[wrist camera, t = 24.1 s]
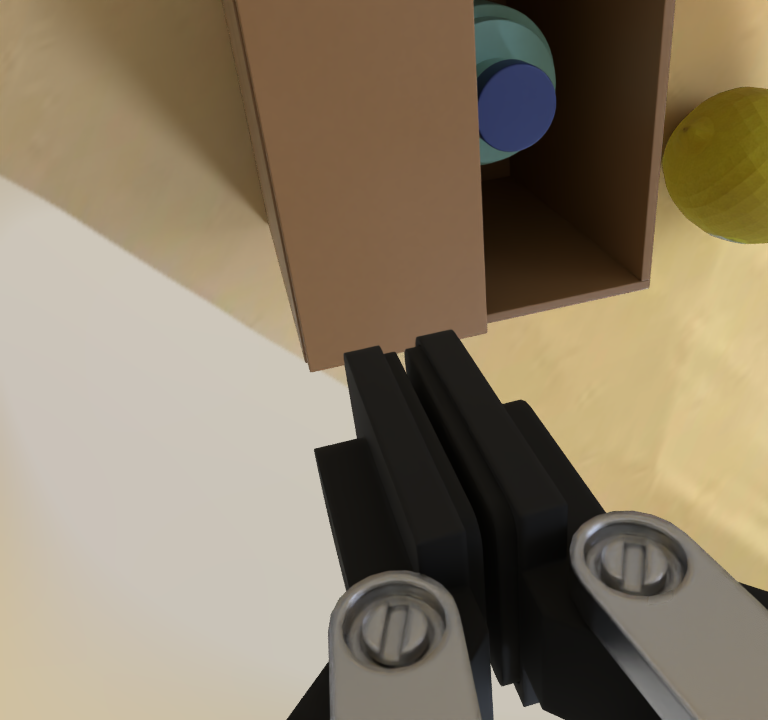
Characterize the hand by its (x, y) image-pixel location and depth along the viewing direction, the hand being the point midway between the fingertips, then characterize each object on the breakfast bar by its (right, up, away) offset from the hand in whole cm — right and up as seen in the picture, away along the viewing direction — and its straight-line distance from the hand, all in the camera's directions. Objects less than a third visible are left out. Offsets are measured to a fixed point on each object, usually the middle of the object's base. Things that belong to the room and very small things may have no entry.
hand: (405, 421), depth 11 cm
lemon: (+19, +13, +32) cm, 39 cm away
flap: (-1, +8, +12) cm, 14 cm away
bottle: (+1, +16, +25) cm, 29 cm away
